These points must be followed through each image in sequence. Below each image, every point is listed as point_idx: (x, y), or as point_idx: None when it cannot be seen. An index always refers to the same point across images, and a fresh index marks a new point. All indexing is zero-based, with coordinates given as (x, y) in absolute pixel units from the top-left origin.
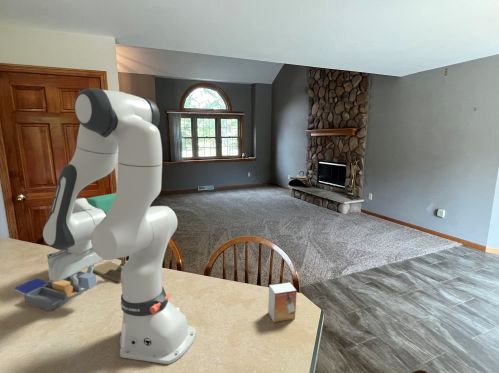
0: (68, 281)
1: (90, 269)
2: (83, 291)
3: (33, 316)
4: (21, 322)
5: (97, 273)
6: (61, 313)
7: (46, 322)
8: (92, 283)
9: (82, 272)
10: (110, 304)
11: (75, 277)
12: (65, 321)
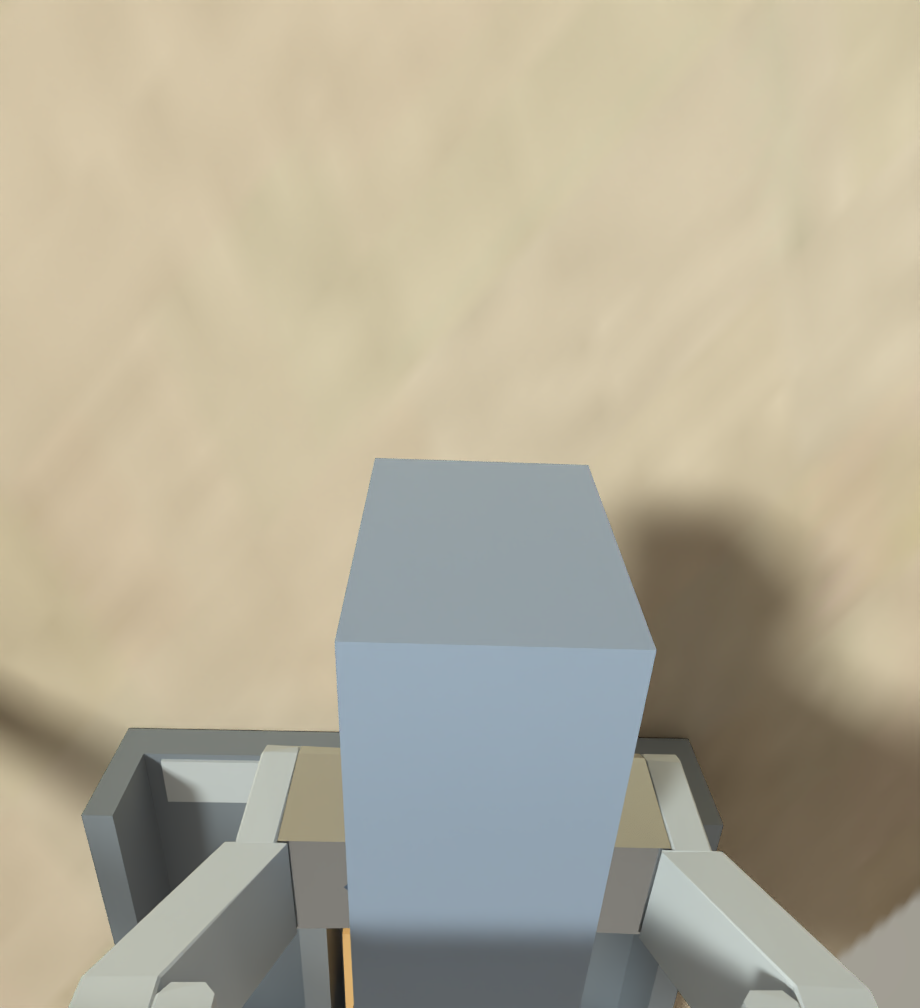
0: (348, 978)
1: (213, 963)
2: (274, 735)
3: (796, 792)
4: (893, 802)
5: None
6: (701, 605)
7: (872, 610)
8: (488, 511)
9: (374, 1002)
10: (335, 138)
11: (787, 948)
12: (832, 433)
